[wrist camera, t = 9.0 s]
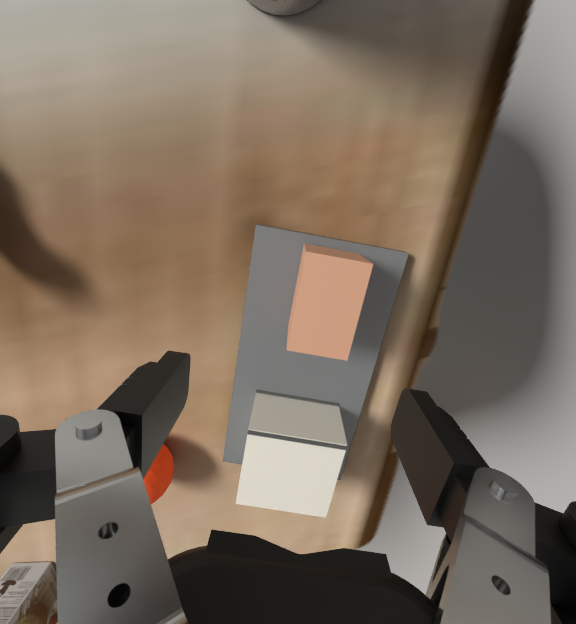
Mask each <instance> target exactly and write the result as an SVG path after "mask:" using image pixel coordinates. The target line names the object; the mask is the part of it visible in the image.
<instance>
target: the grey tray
mask: <svg viewBox="0 0 576 624" xmlns="http://www.w3.org/2000/svg"><path fill="white" fill-rule="evenodd" d="M304 243H305V244H310V245H316V246H321V247H326V248H332V249H337V250H343V251H348V252H353V253H359V254H360V255H361V256H363V257H364V258H366V259H367V260H369V261H370V262H371V263H373V267H372V271H371V275H370V278H369V282H368V286H367V290H366V293H365V297H364V301H363V304H362V308H361V312H360V316H359V319H358V323H357V327H356V330H355V334H354V338H353V342H352V345H351V349H350V353H349V356H348V360H347V361H346V360H340V359H334V358H328V357H322V356H317V355H311V354H305V353H299V352H294V351H288V350H287V336H288V324H289V319H290V313H291V308H292V303H293V298H294V293H295V287H296V282H297V277H298V272H299V267H300V261H301V256H302V251H303V246H304ZM408 255H409V253H407V252H404V251H399V250H393V249H388V248H383V247H377V246H372V245H367V244H361V243H356V242H351V241H345V240H340V239H335V238H329V237H324V236H319V235H313V234H308V233H302V232H297V231H292V230H286V229H281V228H276V227H270V226H265V225H260V224H256V228H255V235H254V242H253V249H252V256H251V263H250V271H249V278H248V285H247V292H246V299H245V306H244V313H243V320H242V327H241V335H240V342H239V349H238V356H237V363H236V370H235V377H234V384H233V392H232V399H231V406H230V413H229V420H228V427H227V434H226V441H225V448H224V456H223V462H229V463H236V464H242V469H241V475H240V481H239V487H238V493H237V499H236V504H242V505H248V506H255V507H261V508H267V509H274V510H280V511H287V512H293V513H300V514H306V515H312V516H319V517H325V518H326V515H327V512H328V509H329V505H330V502H331V499H332V495H333V492H334V489H335V485H336V482H337V480H340V479H341V476H342V473H343V469H344V466H345V463H346V459H347V456H348V453H349V449H350V446H351V443H352V440H353V436H354V433H355V430H356V426H357V423H358V420H359V416H360V413H361V410H362V406H363V403H364V400H365V397H366V393H367V390H368V387H369V383H370V380H371V377H372V373H373V370H374V367H375V364H376V360H377V357H378V354H379V350H380V347H381V344H382V340H383V337H384V334H385V331H386V327H387V324H388V321H389V317H390V314H391V311H392V307H393V304H394V301H395V298H396V294H397V291H398V288H399V284H400V281H401V278H402V274H403V271H404V268H405V265H406V261H407V258H408Z"/></svg>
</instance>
